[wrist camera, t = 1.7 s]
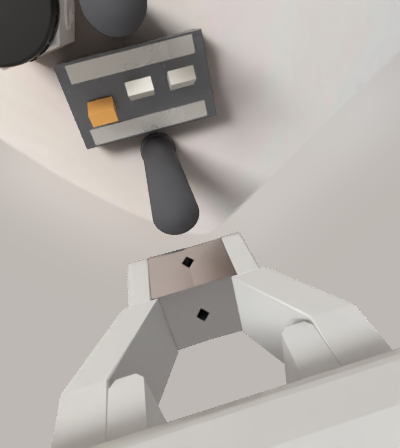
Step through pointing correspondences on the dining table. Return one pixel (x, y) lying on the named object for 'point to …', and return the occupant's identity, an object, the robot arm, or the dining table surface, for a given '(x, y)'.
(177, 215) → the cord post outer
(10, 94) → the dining table surface
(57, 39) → the jar
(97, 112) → the tripped paddle
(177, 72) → the white block
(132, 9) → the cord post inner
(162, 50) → the breaker panel
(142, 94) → the white block
